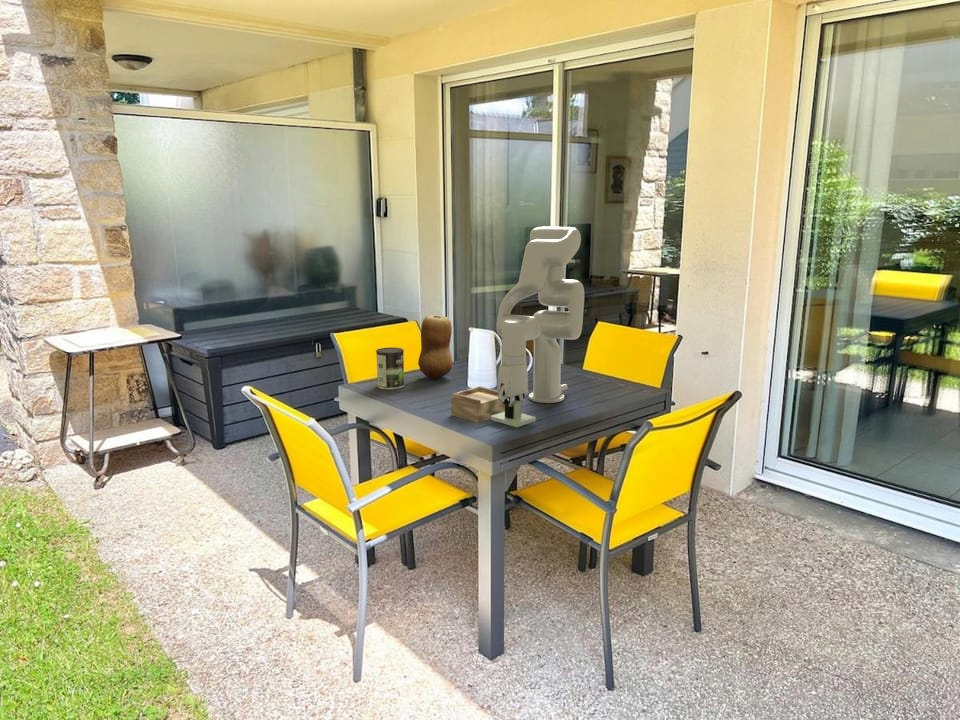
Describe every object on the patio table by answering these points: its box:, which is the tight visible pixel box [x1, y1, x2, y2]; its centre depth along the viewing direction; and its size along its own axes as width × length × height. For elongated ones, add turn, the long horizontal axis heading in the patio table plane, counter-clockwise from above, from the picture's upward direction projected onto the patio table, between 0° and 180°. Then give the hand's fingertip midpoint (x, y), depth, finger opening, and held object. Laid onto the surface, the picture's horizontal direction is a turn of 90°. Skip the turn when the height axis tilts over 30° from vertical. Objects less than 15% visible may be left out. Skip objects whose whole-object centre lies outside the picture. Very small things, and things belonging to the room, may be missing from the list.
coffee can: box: [375, 346, 405, 391], centre depth 266 cm, size 10×10×14 cm
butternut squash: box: [417, 314, 453, 380], centre depth 277 cm, size 14×13×25 cm
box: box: [450, 385, 505, 424], centre depth 232 cm, size 14×12×7 cm
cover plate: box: [490, 399, 537, 428], centre depth 222 cm, size 9×11×6 cm
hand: (513, 416), depth 222 cm, fingers closed on cover plate, 3 cm apart
